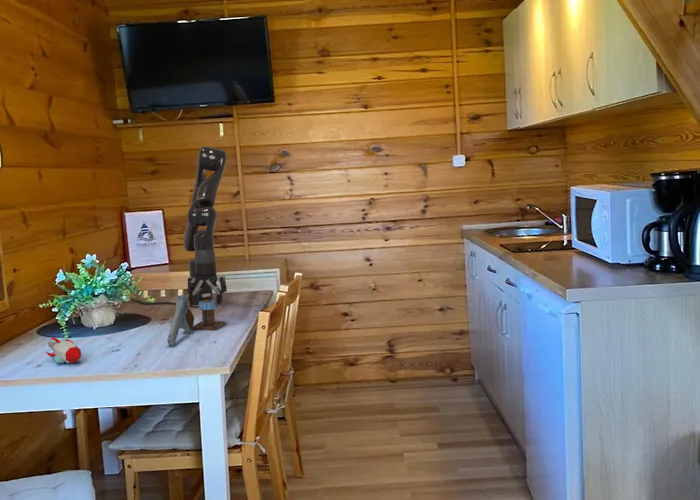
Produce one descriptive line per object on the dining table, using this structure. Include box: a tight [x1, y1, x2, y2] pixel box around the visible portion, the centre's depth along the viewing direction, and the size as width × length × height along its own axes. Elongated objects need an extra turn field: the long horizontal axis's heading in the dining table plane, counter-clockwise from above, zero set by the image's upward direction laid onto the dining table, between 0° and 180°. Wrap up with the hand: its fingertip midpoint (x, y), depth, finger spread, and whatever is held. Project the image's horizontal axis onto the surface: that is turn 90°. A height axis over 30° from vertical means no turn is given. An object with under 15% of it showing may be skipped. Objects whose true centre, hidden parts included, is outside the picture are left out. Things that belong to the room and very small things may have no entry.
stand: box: [192, 300, 228, 331], centre depth 248 cm, size 10×10×10 cm
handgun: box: [166, 293, 195, 347], centre depth 232 cm, size 4×25×15 cm
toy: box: [45, 336, 82, 364], centre depth 207 cm, size 21×7×7 cm, turn 40°
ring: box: [198, 299, 218, 311], centre depth 248 cm, size 6×6×2 cm
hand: (208, 304), depth 248 cm, fingers open, 8 cm apart
